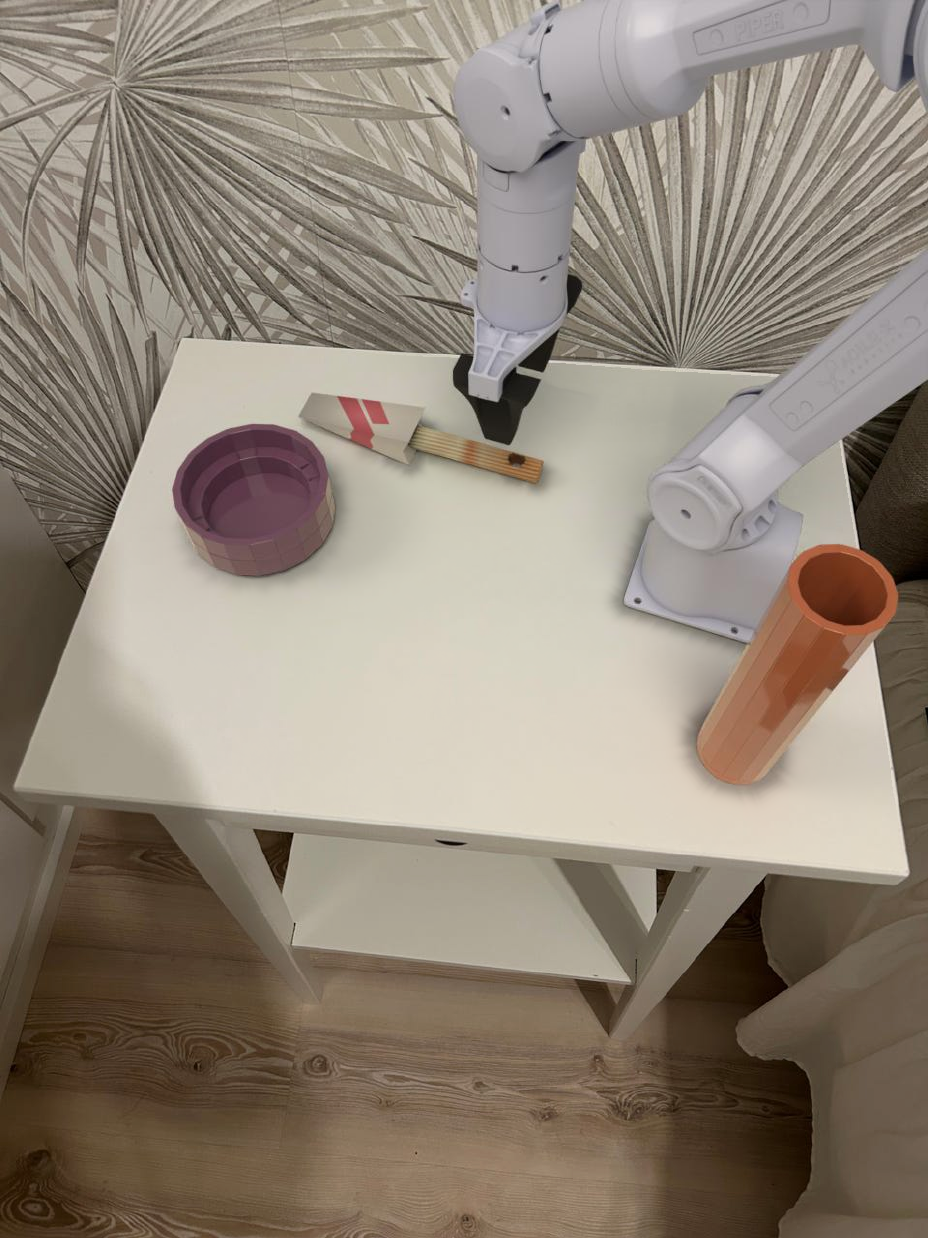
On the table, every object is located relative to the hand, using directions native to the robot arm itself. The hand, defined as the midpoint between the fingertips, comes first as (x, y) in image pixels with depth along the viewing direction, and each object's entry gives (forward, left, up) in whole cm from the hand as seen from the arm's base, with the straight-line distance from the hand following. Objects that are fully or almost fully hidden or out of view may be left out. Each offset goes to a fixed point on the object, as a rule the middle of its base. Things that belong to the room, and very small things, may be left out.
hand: (515, 401), depth 66 cm
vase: (-22, +18, -6) cm, 29 cm away
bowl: (+16, +12, -6) cm, 21 cm away
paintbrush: (+7, +2, -7) cm, 10 cm away
